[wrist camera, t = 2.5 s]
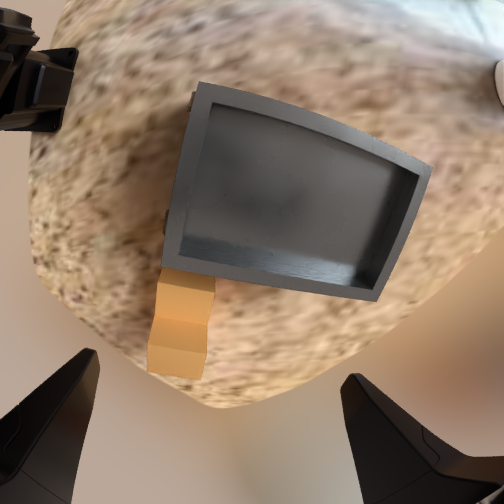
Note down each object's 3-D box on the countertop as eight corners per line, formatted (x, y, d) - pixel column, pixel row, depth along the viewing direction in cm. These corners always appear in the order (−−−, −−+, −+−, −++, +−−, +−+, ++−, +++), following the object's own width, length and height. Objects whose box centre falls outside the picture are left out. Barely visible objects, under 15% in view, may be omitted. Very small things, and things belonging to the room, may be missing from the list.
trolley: (167, 220, 19) (147, 263, 14) (195, 94, 16) (183, 78, 10) (346, 257, 22) (384, 303, 17) (384, 154, 19) (440, 172, 13)
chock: (202, 328, 24) (200, 380, 19) (158, 320, 23) (146, 371, 18) (214, 271, 22) (215, 320, 16) (164, 261, 21) (149, 308, 16)
